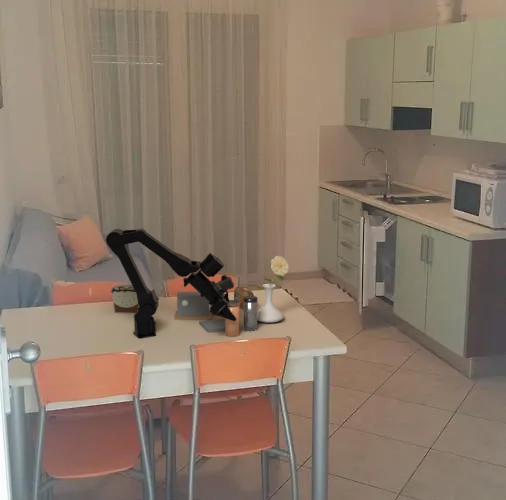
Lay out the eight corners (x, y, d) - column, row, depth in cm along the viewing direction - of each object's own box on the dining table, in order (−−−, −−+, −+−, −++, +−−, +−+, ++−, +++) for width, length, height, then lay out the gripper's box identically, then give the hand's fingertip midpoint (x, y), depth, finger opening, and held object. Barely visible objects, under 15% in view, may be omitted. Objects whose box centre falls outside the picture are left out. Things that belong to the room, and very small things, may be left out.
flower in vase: (258, 326, 254) (259, 260, 249) (250, 317, 265) (250, 253, 260) (292, 323, 258) (293, 258, 253) (282, 314, 269) (283, 251, 263)
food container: (145, 309, 275) (145, 284, 273) (141, 313, 269) (141, 289, 267) (115, 308, 276) (114, 283, 274) (110, 312, 270) (110, 287, 268)
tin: (233, 304, 282) (233, 284, 280) (240, 303, 283) (240, 283, 282) (248, 314, 269) (248, 293, 267) (255, 313, 270) (256, 292, 268)
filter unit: (174, 319, 262) (174, 296, 260) (176, 313, 270) (175, 290, 268) (211, 319, 262) (211, 296, 260) (211, 313, 270) (211, 290, 268)
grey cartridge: (247, 332, 248) (247, 300, 245) (241, 328, 252) (241, 296, 249) (259, 330, 250) (259, 298, 247) (253, 326, 254) (253, 295, 252)
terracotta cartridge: (228, 337, 242) (228, 304, 239) (222, 333, 246) (222, 301, 244) (241, 335, 244) (241, 303, 242) (235, 331, 248) (235, 299, 246)
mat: (208, 332, 247) (208, 330, 247) (199, 323, 257) (199, 321, 257) (237, 329, 251) (237, 326, 251) (227, 320, 261) (227, 318, 261)
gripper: (219, 276, 231) (252, 308, 234) (220, 264, 249) (251, 293, 252) (196, 299, 233) (229, 330, 235) (199, 285, 251) (229, 314, 253)
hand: (235, 316), depth 244 cm, fingers open, 9 cm apart
